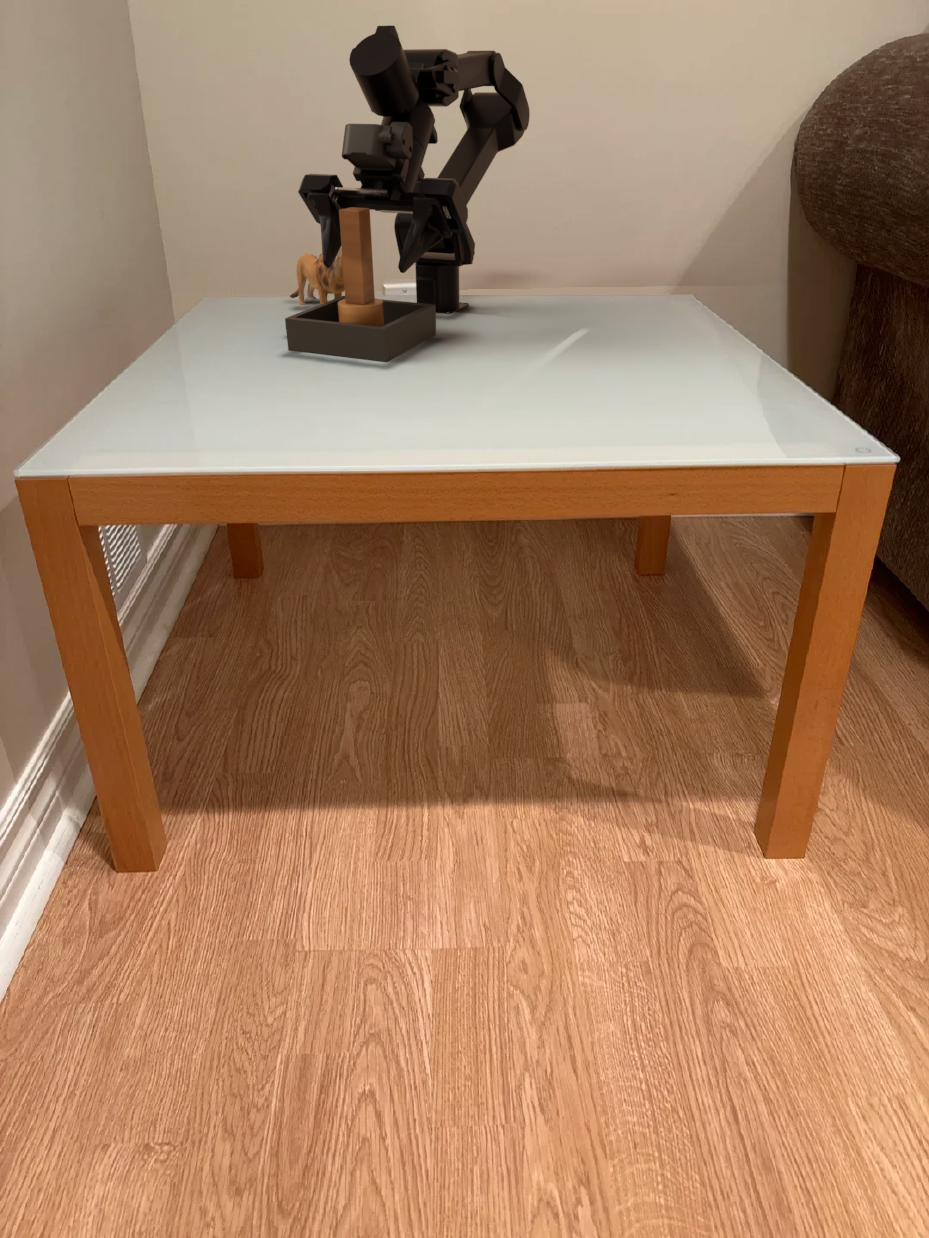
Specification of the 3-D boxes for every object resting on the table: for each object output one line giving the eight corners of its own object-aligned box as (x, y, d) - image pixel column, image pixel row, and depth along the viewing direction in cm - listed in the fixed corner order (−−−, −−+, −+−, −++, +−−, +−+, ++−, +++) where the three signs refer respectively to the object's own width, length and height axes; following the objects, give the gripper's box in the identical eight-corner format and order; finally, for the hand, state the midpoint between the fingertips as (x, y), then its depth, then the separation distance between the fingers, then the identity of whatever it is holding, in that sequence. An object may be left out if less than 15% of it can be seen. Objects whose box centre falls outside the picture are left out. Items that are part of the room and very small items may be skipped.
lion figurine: (372, 315, 120) (367, 242, 116) (339, 322, 117) (334, 247, 112) (305, 298, 129) (299, 230, 125) (274, 304, 126) (266, 234, 122)
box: (345, 330, 114) (342, 295, 112) (436, 339, 109) (435, 304, 107) (288, 355, 104) (284, 318, 102) (386, 367, 100) (384, 329, 98)
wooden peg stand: (355, 340, 107) (345, 205, 100) (392, 344, 106) (386, 207, 98) (332, 350, 104) (321, 211, 96) (371, 355, 102) (363, 213, 94)
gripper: (298, 92, 100) (255, 215, 97) (457, 92, 94) (418, 223, 91) (337, 166, 110) (300, 279, 107) (483, 170, 104) (448, 290, 101)
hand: (362, 268), depth 101 cm, fingers open, 9 cm apart
